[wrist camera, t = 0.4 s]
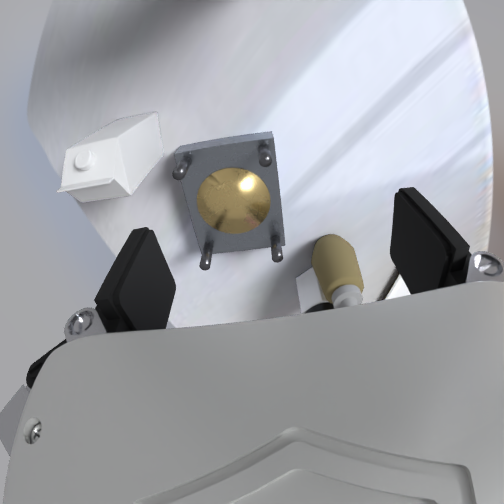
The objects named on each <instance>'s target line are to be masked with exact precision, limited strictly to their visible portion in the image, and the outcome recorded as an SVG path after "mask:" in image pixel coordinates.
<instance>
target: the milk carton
mask: <svg viewBox="0 0 504 504" xmlns="http://www.w3.org/2000/svg"><path fill="white" fill-rule="evenodd" d="M163 155H164V151H163V145H162V139H161V133H160V126H159V120H158V113H157V112H152V113H147V114H142V115H136V116H132V117H127V118H122V119H118V120H115V121H114V122H112V123H110V124H108V125H106V126H105V127H103V128H101V129H99V130H98V131H96V132H94V133H92V134H91V135H89V136H87V137H86V138H84V139H82V140H81V141H79V142H78V143H76V144H74V145H73V146H71V147H70V148H68V149H67V150H66V154H65V160H64V167H63V174H62V182H61V188H59V190H57V193H58V192H64V191H66V192H67V193H69V194H70V195H71V196H73V197H74V198H76V199H77V200H79V201H80V202H81V203H84V202H91V201H97V200H104V199H112V198H119V197H127V196H131V195H132V194H133V192H134V191H135V190H136V188H137V187H138V186H139V185H140V183H141V182H142V181H143V180H144V178H145V177H146V176H147V175H148V173H149V172H150V171H151V170H152V168H153V167H154V166H155V165H156V164H157V162H158V161H159V160H160V159H161V158H162V156H163Z"/></svg>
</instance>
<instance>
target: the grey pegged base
mask: <svg viewBox="0 0 504 504" xmlns="http://www.w3.org/2000/svg"><path fill="white" fill-rule="evenodd" d="M174 156H175V160H176V164H177V167H176V168H175V170H174V171H173V177H174V178H175V179H176V180H181V183H182V187H183V190H184V194H185V198H186V201H187V205H188V209H189V212H190V216H191V219H192V223H193V226H194V230H195V233H196V237H197V240H198V244H199V247H200V250H201V254H202V256H201V261H200V268H201V269H202V270H208V269H209V268H210V264H211V258H212V254H216V253H225V252H234V251H242V250H251V249H260V248H268V247H271V252H272V260H273V261H274V262H281V261H282V259H283V255H282V248H281V246H285V237H284V227H283V217H282V207H281V198H280V189H279V180H278V171H277V162H276V154H275V145H274V138H273V134H272V131H271V132H263V133H255V134H247V135H240V136H233V137H227V138H221V139H215V140H209V141H203V142H198V143H193V144H187V145H182V146H180V147H179V148H178V149H177V151H176V152H175V153H174Z"/></svg>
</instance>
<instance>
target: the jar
mask: <svg viewBox="0 0 504 504" xmlns="http://www.w3.org/2000/svg"><path fill="white" fill-rule="evenodd" d="M296 285H297V291H298V297H299V303H300V309H301V314H305V313H312V312H318V311H325V310H331V309H334V306H333V304H332V303H330V302H328V301H327V300H326V298H325V296H324V293H323V291H322V289H321V286H320V284H319V281H318V279H317V276H316V274H315V272H314V269H313V267H311V268H310V269H309V270H307V271H306V272H304V273H303V274H301V275H300V276H298V277H297V278H296Z"/></svg>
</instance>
